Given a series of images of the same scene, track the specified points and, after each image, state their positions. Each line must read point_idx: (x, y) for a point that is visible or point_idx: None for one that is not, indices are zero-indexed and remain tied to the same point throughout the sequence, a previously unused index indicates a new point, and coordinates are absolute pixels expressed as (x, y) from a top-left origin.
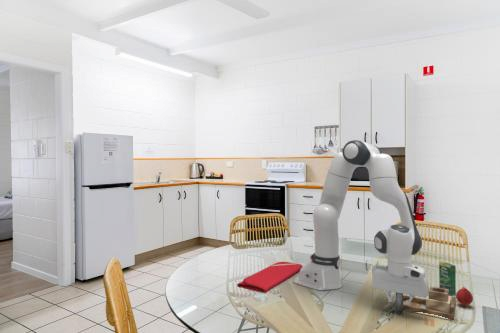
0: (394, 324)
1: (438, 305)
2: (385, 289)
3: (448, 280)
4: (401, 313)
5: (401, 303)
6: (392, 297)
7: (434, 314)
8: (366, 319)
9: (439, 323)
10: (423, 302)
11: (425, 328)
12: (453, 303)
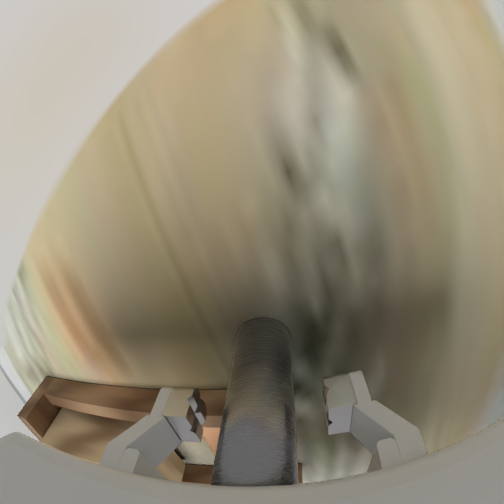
0: (207, 93)
1: (82, 439)
2: (437, 461)
3: None
4: (239, 331)
5: (230, 392)
6: (333, 427)
7: (95, 393)
8: (421, 52)
9: (48, 325)
10: (208, 473)
11: (44, 207)
12: None
